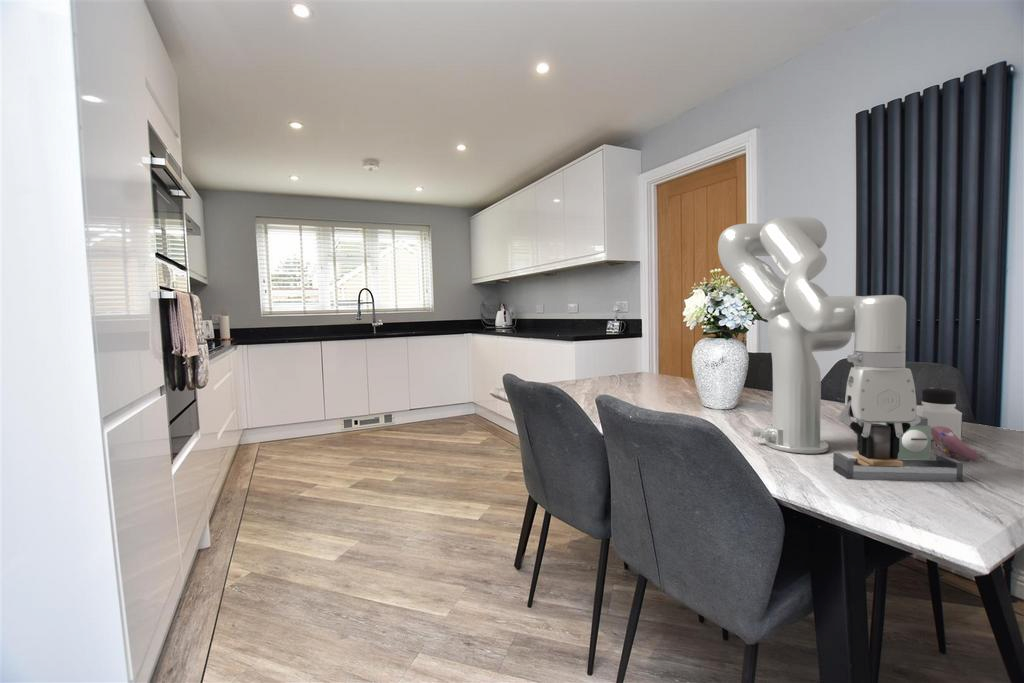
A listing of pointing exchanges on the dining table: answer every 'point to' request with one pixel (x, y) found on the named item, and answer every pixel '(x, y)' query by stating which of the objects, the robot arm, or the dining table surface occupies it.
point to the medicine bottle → (941, 409)
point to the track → (901, 469)
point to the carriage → (879, 448)
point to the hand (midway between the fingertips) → (877, 455)
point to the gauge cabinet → (916, 441)
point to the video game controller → (952, 443)
